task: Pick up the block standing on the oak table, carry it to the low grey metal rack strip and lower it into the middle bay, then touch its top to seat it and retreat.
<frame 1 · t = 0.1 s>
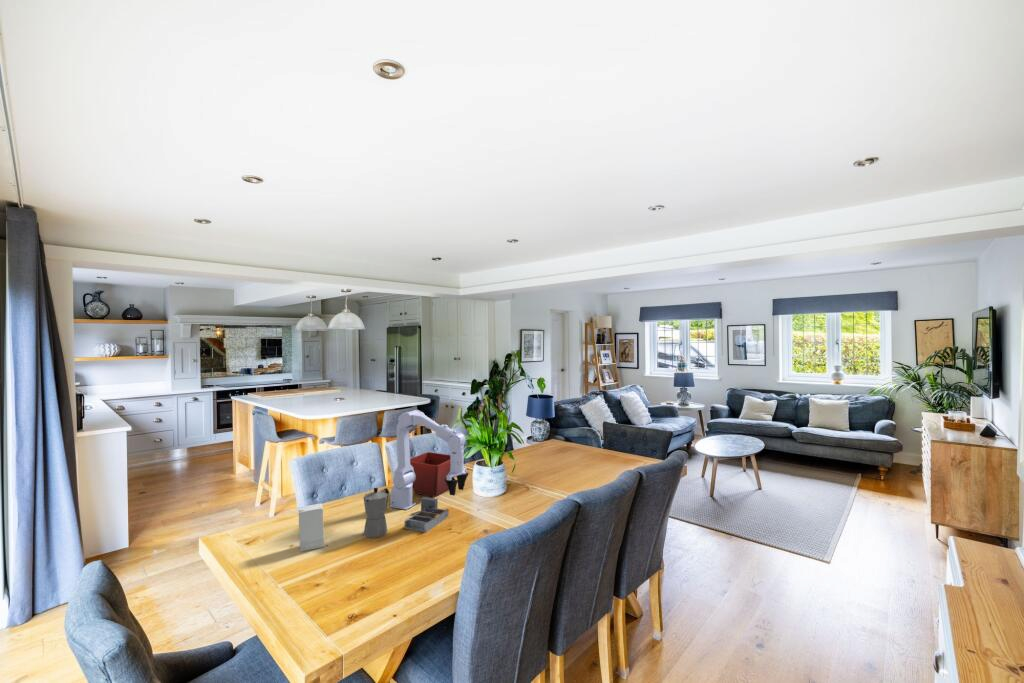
hand: (456, 492, 201), 10 cm above the table, fingers open, 7 cm apart
coffeepot: (377, 532, 183), on the table
block: (429, 512, 205), on the table
plant pot: (431, 492, 232), on the table
skincare box: (311, 547, 170), on the table
rack: (427, 522, 193), on the table
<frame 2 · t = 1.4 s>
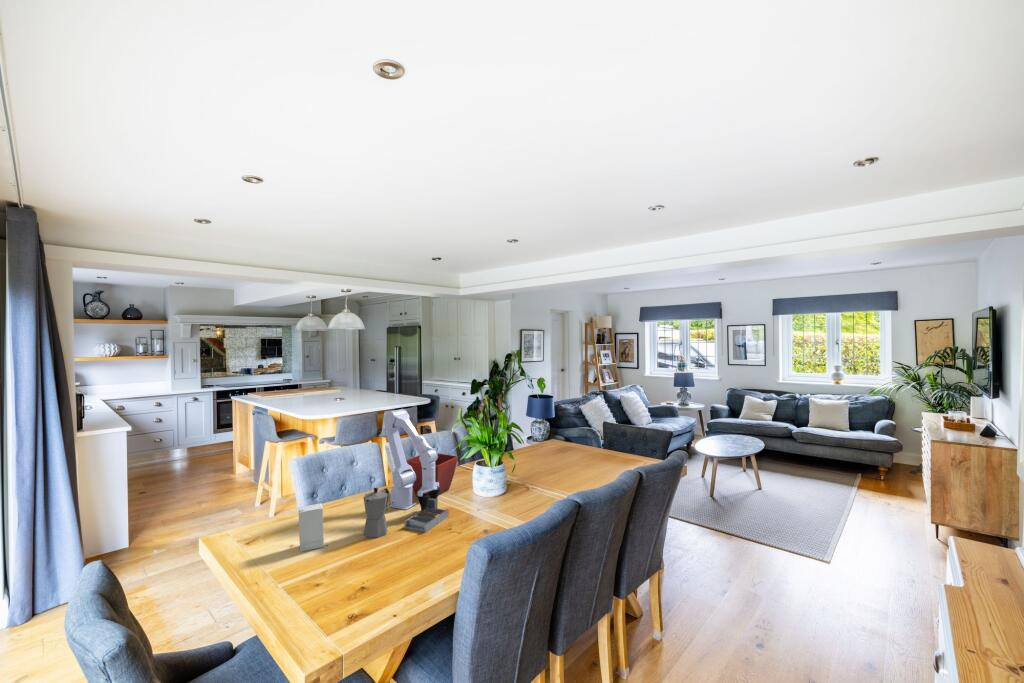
hand: (428, 507, 205), 2 cm above the table, fingers open, 7 cm apart
nothing on the table moved.
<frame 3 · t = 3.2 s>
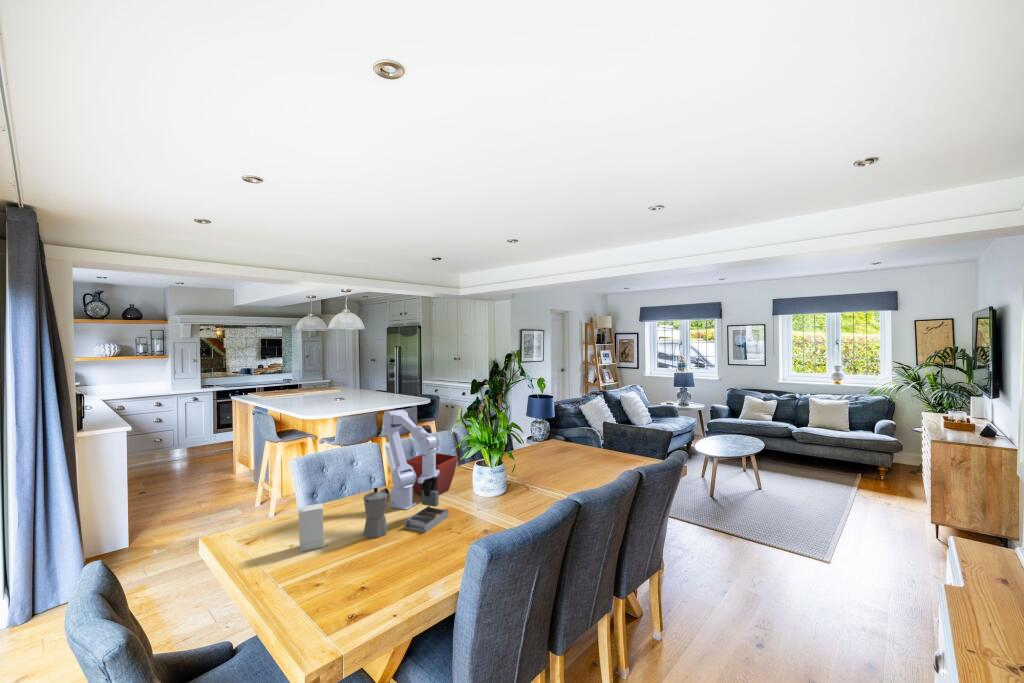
hand: (428, 495, 201), 9 cm above the table, fingers closed on block, 2 cm apart
block: (430, 504, 201), point 5 cm above the table, touching gripper
everything else where it was.
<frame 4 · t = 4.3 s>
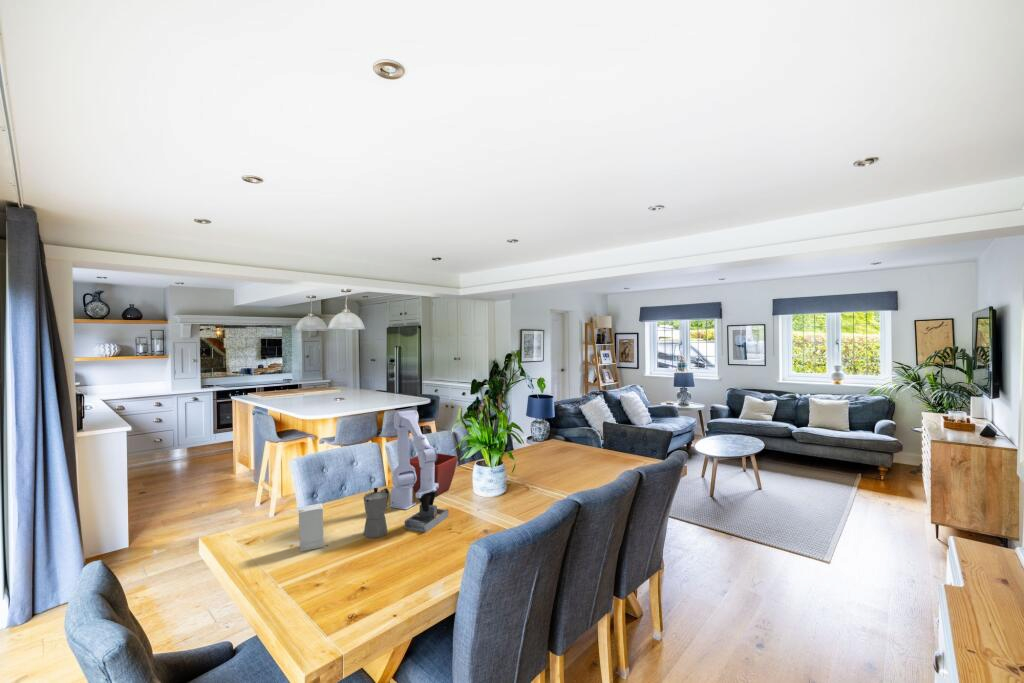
hand: (427, 509, 193), 5 cm above the table, fingers closed on block, 2 cm apart
block: (428, 519, 193), point 1 cm above the table, touching gripper, rack
everything else where it was.
when the fingers open (4 cm above the table, at t = 4.8 s): block stays where it is, resting on rack.
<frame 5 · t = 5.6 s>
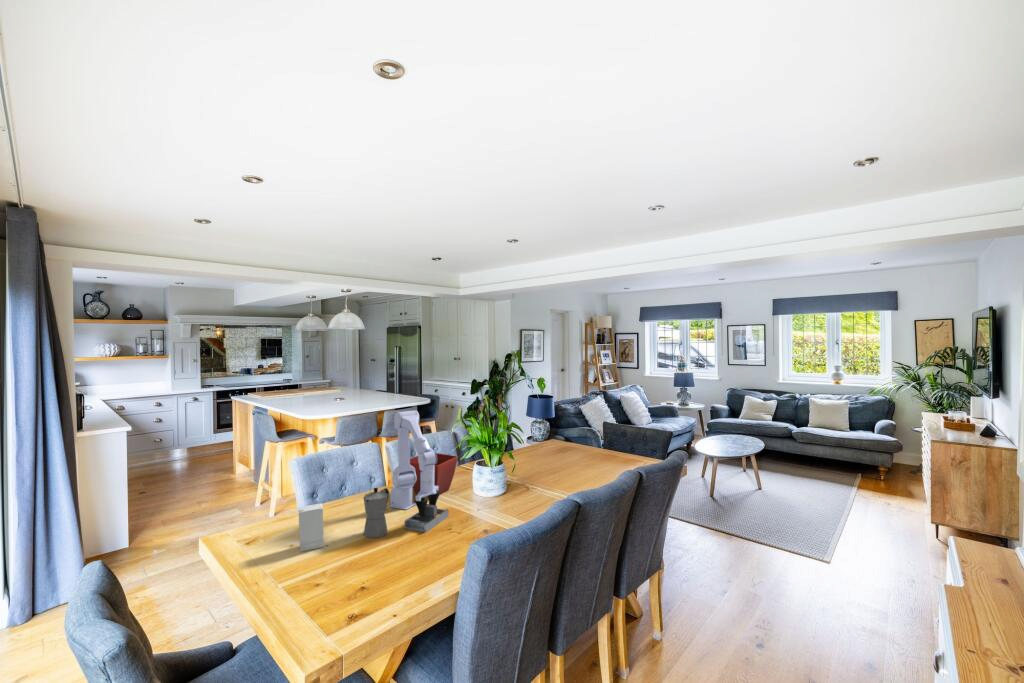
hand: (427, 512, 193), 4 cm above the table, fingers open, 7 cm apart
block: (428, 519, 193), point 1 cm above the table, touching rack
everything else where it was.
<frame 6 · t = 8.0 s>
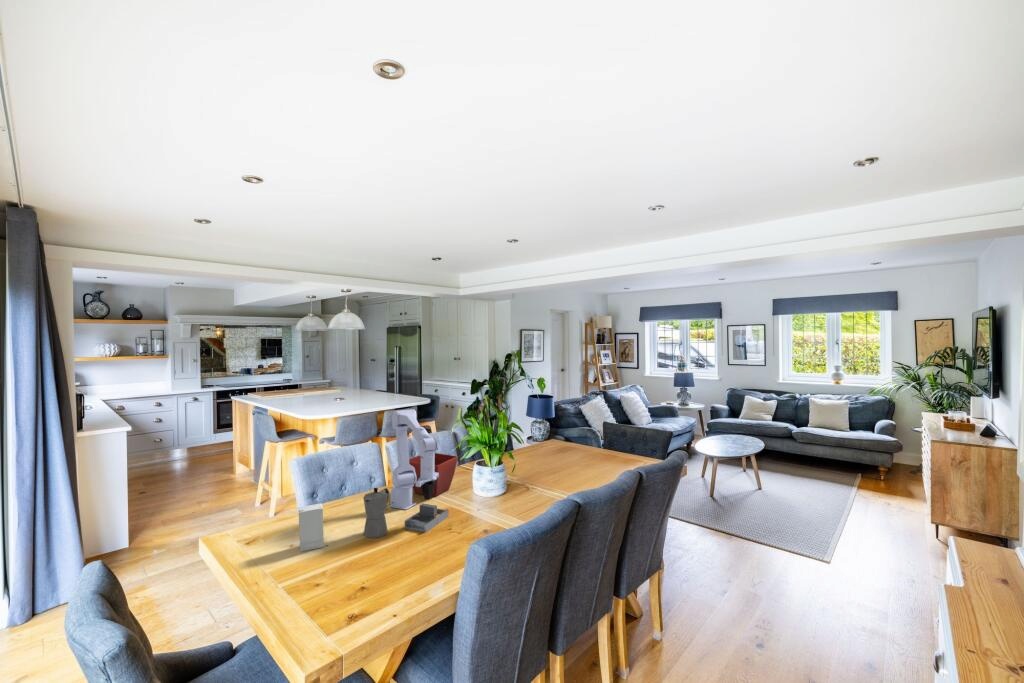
hand: (427, 498, 193), 10 cm above the table, fingers closed
nothing on the table moved.
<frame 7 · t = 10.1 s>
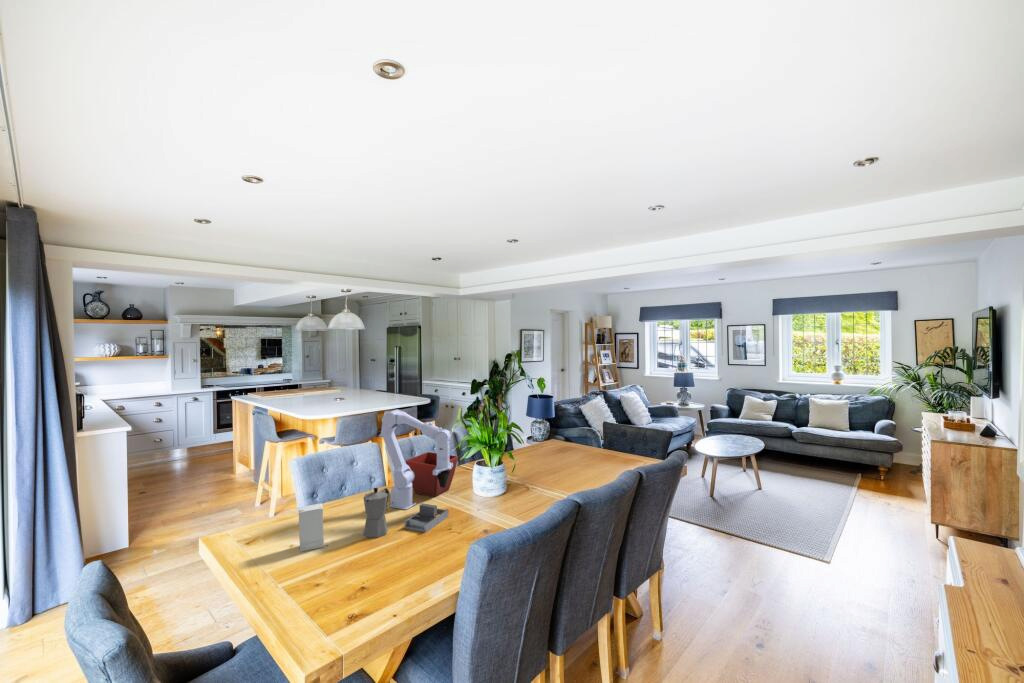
hand: (442, 486, 209), 10 cm above the table, fingers closed
nothing on the table moved.
at the end: block 0.4 cm off-centre on the rack, point 1.2 cm above the rack's base; block tilted 0°; the gripper is holding nothing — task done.
